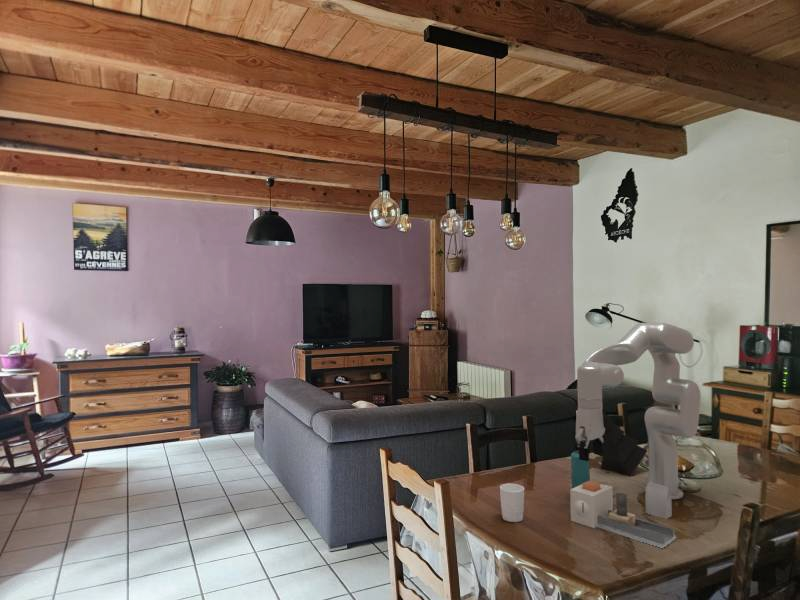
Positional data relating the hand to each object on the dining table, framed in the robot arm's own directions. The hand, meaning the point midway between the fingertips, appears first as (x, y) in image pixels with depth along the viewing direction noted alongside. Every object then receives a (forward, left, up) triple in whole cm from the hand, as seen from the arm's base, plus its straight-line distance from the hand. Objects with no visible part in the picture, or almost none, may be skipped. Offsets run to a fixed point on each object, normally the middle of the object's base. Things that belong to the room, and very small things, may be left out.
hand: (591, 457), depth 168 cm
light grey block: (-19, +13, -20) cm, 31 cm away
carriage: (0, +10, -19) cm, 21 cm away
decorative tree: (-51, -18, -20) cm, 58 cm away
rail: (0, +14, -20) cm, 24 cm away
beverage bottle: (-14, -12, -20) cm, 27 cm away
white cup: (+18, -18, -20) cm, 33 cm away
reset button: (0, 0, -13) cm, 13 cm away
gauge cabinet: (0, 0, -20) cm, 20 cm away
